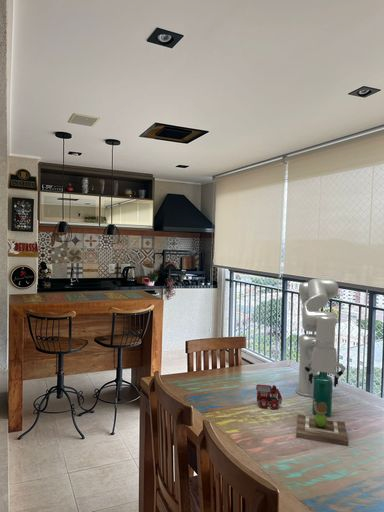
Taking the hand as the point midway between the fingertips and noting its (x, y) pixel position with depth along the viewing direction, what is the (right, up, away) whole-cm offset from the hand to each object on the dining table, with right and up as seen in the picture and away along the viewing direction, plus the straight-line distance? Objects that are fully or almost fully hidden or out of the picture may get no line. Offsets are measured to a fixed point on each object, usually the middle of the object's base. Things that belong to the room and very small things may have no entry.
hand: (323, 384), depth 164 cm
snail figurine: (-1, -18, 0) cm, 18 cm away
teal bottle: (+5, -20, +19) cm, 28 cm away
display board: (-1, -20, 0) cm, 20 cm away
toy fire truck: (-18, -19, +25) cm, 36 cm away
